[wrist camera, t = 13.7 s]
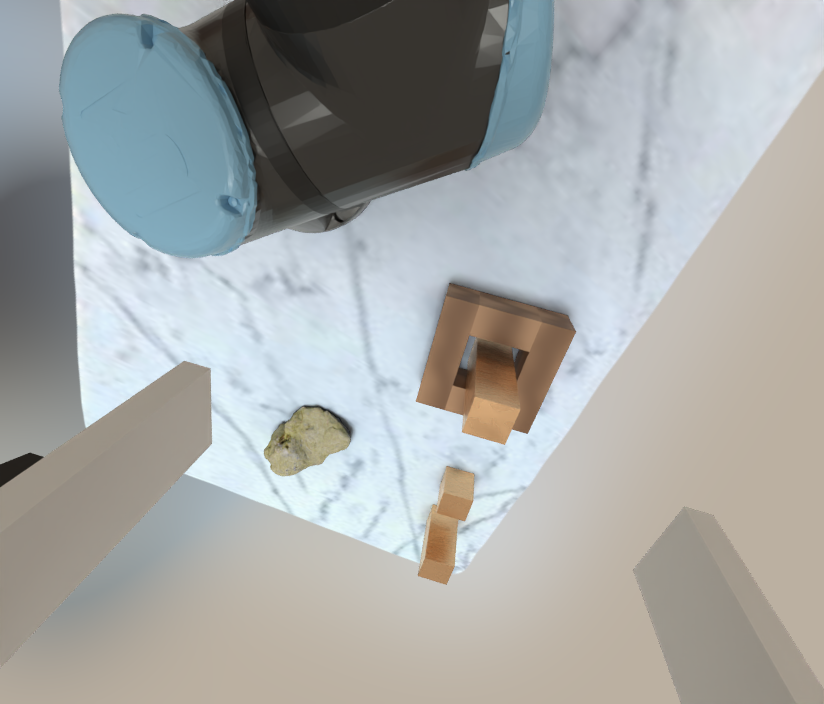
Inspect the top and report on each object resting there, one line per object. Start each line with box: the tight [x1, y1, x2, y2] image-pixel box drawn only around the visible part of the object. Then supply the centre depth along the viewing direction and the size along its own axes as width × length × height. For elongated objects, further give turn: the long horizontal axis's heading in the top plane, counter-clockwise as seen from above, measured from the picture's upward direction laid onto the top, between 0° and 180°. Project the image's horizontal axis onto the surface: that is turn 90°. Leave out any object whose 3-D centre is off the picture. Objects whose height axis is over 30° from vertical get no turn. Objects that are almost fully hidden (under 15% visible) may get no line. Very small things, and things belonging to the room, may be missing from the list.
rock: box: [264, 407, 351, 476], centre depth 55 cm, size 11×6×10 cm
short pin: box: [436, 466, 474, 521], centre depth 55 cm, size 4×4×5 cm
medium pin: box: [418, 504, 458, 584], centre depth 57 cm, size 4×4×9 cm
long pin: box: [462, 337, 520, 445], centre depth 41 cm, size 4×4×14 cm
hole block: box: [416, 283, 576, 434], centre depth 45 cm, size 14×14×4 cm
